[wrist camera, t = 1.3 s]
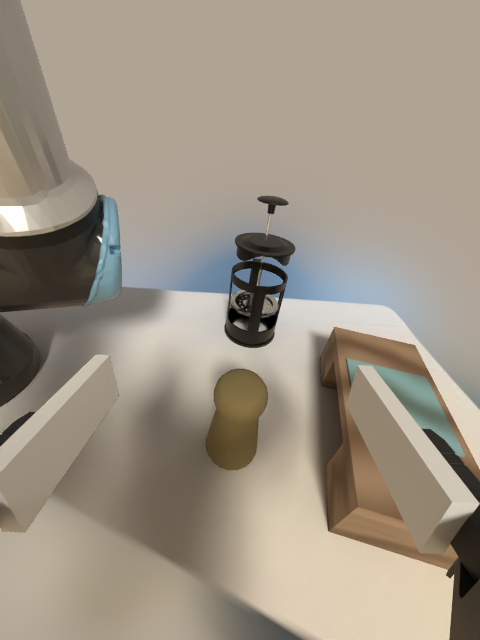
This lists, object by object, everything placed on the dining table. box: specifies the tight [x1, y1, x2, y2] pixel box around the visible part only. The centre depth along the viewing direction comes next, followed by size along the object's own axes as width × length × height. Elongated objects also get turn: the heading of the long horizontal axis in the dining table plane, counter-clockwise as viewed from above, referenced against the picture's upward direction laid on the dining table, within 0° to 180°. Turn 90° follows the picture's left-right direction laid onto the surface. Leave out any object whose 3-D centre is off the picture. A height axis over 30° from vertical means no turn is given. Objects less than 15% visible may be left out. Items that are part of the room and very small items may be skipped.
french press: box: [225, 196, 295, 348], centre depth 40 cm, size 12×9×23 cm
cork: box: [206, 369, 268, 470], centre depth 26 cm, size 6×6×11 cm
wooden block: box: [320, 327, 480, 570], centre depth 30 cm, size 24×12×7 cm, turn 167°
